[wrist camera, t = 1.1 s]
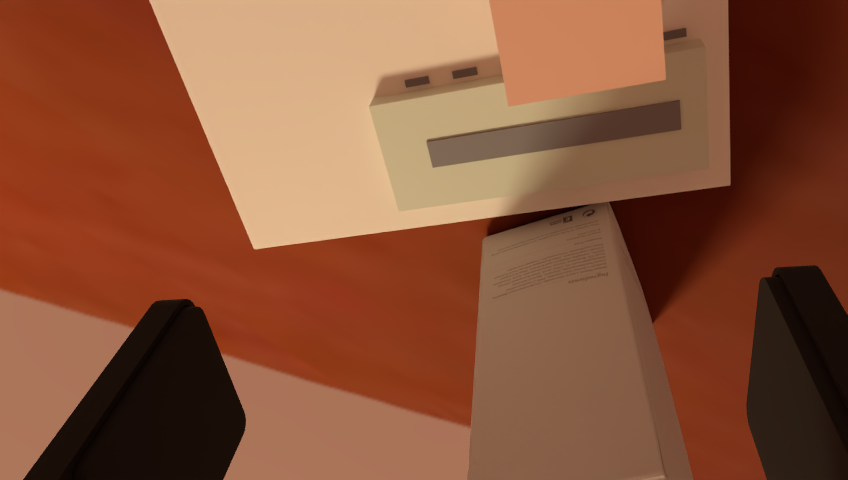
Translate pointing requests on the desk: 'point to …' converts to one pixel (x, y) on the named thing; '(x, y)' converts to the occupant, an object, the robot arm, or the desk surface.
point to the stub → (577, 46)
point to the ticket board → (431, 115)
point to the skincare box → (569, 359)
